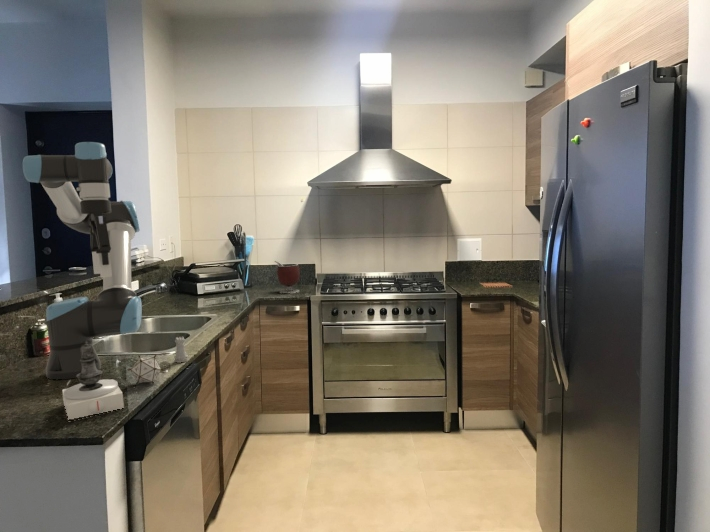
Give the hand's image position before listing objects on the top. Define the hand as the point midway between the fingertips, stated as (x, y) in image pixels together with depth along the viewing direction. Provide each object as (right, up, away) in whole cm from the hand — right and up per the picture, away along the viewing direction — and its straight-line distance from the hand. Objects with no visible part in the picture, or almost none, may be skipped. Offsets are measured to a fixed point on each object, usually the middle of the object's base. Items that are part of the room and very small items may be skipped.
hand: (102, 275), depth 138 cm
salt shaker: (+5, -28, -15) cm, 32 cm away
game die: (+11, -31, +3) cm, 33 cm away
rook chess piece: (+14, -29, +24) cm, 40 cm away
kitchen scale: (+5, -33, -14) cm, 36 cm away
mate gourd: (+29, -14, +169) cm, 172 cm away
